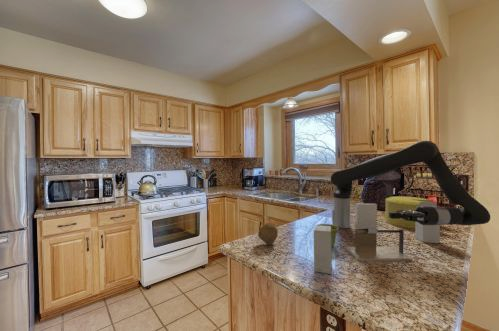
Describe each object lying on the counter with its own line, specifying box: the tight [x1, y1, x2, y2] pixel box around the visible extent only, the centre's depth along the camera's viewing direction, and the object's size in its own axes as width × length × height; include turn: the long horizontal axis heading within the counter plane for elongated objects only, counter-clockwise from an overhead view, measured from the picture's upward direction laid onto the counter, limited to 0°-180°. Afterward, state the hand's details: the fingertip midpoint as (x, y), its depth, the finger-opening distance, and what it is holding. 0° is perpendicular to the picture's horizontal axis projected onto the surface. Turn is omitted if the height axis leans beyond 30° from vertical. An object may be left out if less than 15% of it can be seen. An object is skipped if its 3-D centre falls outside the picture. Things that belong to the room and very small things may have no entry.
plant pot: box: [318, 223, 340, 248], centre depth 104 cm, size 9×9×9 cm
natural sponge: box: [257, 222, 279, 246], centre depth 105 cm, size 9×9×10 cm
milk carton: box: [414, 201, 441, 244], centre depth 111 cm, size 7×7×19 cm
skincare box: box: [313, 224, 333, 275], centre depth 83 cm, size 8×6×15 cm
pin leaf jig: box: [345, 228, 414, 262], centre depth 94 cm, size 21×12×11 cm, turn 90°
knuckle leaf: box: [354, 203, 378, 234], centre depth 94 cm, size 8×3×12 cm, turn 90°
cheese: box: [384, 195, 435, 229], centre depth 142 cm, size 26×26×15 cm
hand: (390, 215), depth 93 cm, fingers closed
